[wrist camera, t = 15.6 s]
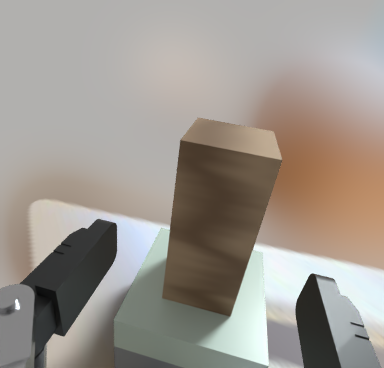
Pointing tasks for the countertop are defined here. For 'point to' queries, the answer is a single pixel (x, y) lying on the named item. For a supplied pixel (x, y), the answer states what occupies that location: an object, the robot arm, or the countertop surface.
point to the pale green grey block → (189, 322)
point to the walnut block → (217, 211)
